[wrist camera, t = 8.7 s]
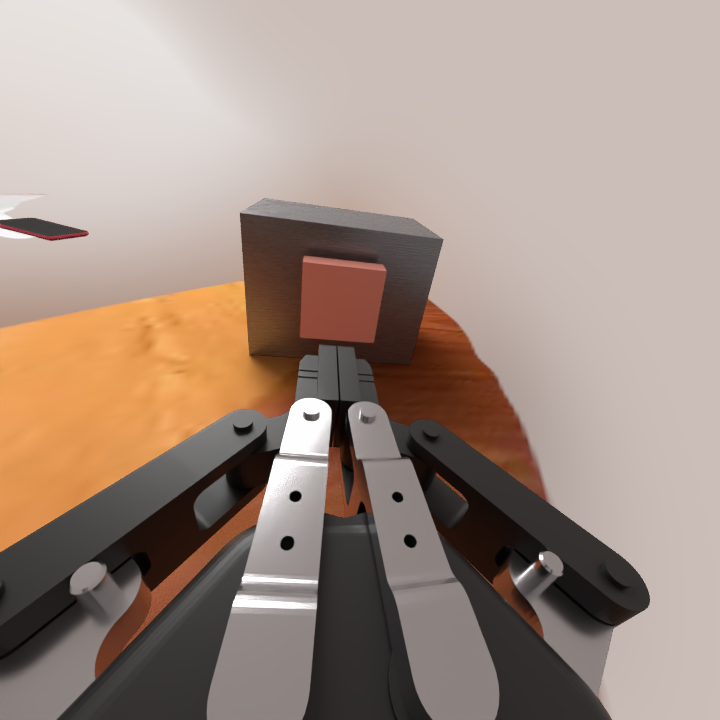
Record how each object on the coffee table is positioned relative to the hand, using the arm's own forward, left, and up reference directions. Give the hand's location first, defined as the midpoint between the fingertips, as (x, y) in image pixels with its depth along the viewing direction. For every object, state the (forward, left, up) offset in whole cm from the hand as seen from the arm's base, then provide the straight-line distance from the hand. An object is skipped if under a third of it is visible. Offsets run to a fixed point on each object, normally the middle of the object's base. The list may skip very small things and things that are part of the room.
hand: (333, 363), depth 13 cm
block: (+1, +24, -11) cm, 26 cm away
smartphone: (-55, +58, -12) cm, 81 cm away
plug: (+1, +21, -7) cm, 22 cm away
